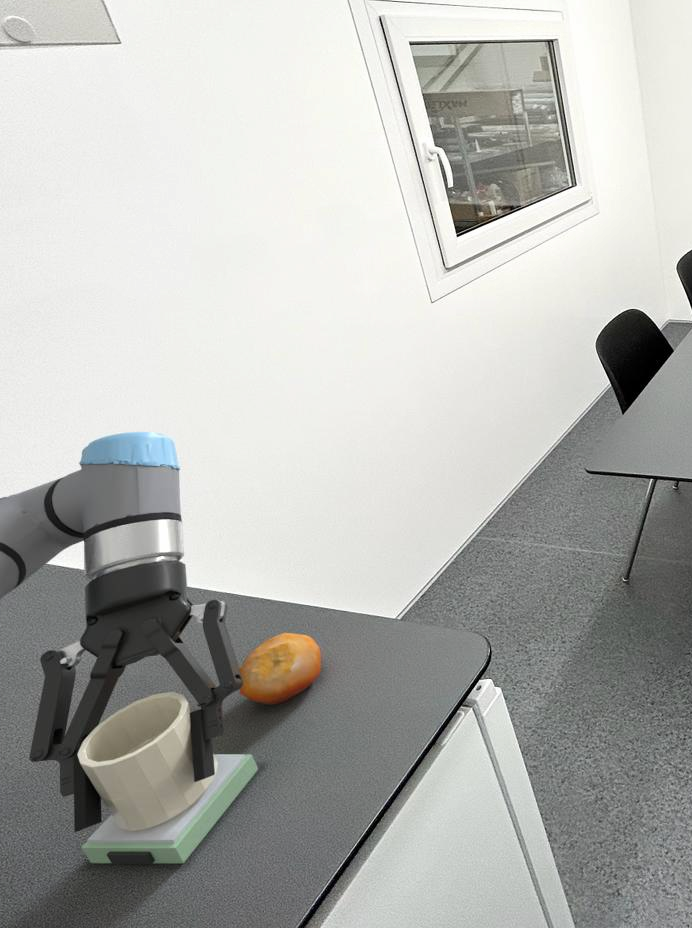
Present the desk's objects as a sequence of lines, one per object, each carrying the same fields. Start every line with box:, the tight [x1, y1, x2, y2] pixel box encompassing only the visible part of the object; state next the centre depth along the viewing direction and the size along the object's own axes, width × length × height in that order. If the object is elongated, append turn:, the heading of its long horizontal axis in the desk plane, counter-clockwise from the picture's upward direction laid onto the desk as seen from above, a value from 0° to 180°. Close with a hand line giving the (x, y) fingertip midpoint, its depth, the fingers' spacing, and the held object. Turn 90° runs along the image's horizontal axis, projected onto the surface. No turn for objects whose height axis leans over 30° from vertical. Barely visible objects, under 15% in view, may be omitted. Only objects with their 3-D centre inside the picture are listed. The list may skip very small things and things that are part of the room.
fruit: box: [238, 632, 322, 706], centre depth 79 cm, size 8×8×8 cm
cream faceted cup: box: [77, 691, 218, 831], centre depth 63 cm, size 8×8×10 cm
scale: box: [81, 753, 259, 865], centre depth 65 cm, size 9×10×3 cm
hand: (148, 801), depth 61 cm, fingers closed on cream faceted cup, 8 cm apart
